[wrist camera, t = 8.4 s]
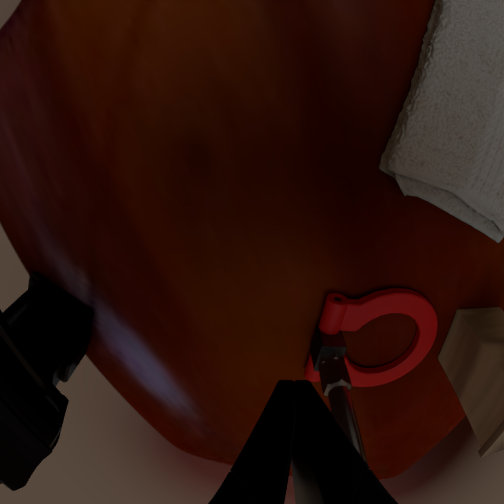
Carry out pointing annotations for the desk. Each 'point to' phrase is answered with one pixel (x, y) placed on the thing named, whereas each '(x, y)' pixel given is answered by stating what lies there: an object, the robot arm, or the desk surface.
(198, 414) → the desk surface
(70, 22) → the desk surface
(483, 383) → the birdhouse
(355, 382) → the tow hook
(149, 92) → the desk surface
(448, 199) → the washcloth
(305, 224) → the desk surface
